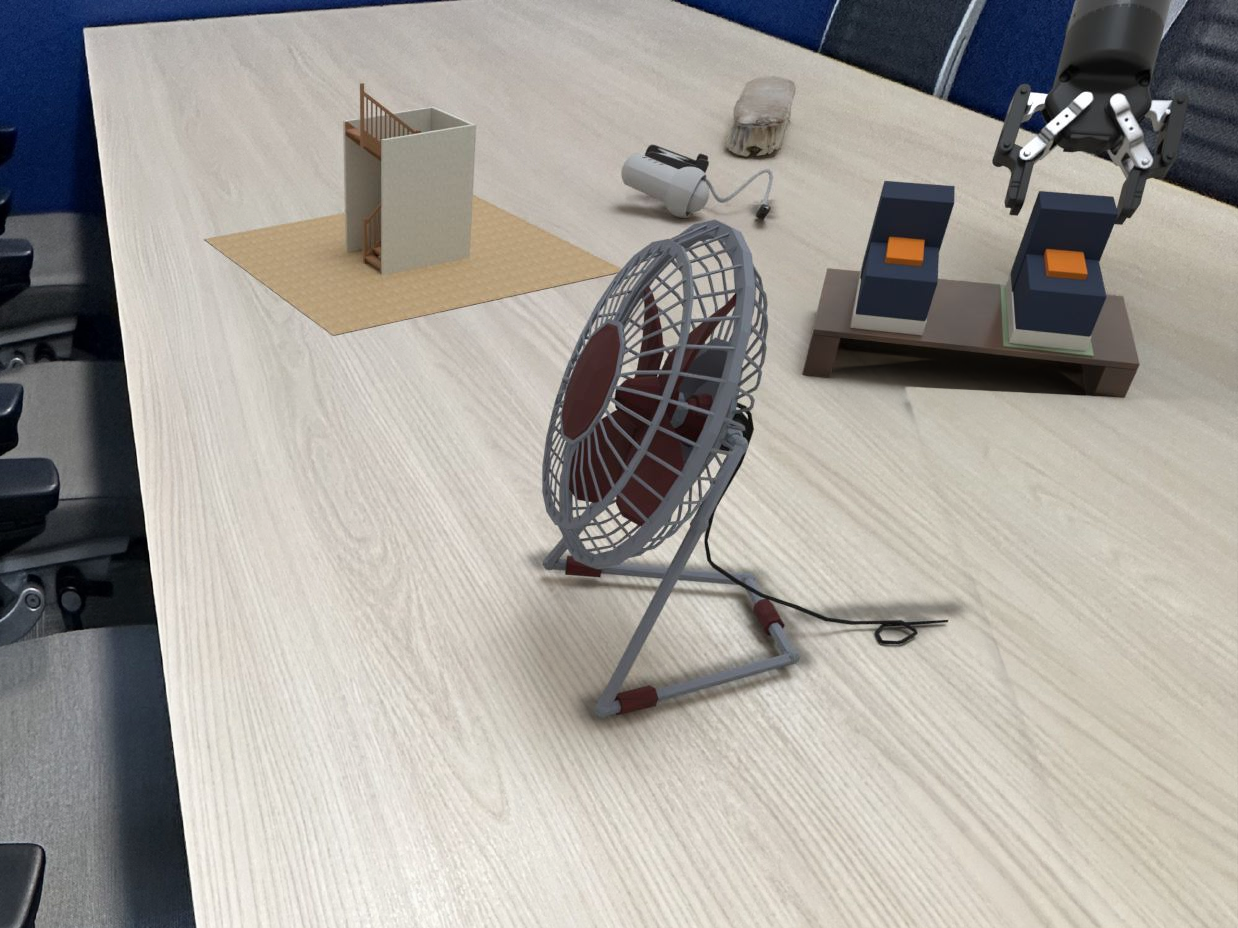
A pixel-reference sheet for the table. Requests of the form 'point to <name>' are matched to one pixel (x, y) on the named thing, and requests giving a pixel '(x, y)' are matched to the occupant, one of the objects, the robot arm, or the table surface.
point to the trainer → (1060, 271)
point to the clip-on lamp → (679, 180)
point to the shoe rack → (976, 331)
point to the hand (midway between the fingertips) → (1068, 215)
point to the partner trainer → (902, 258)
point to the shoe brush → (761, 115)
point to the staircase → (406, 232)
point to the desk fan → (662, 442)
